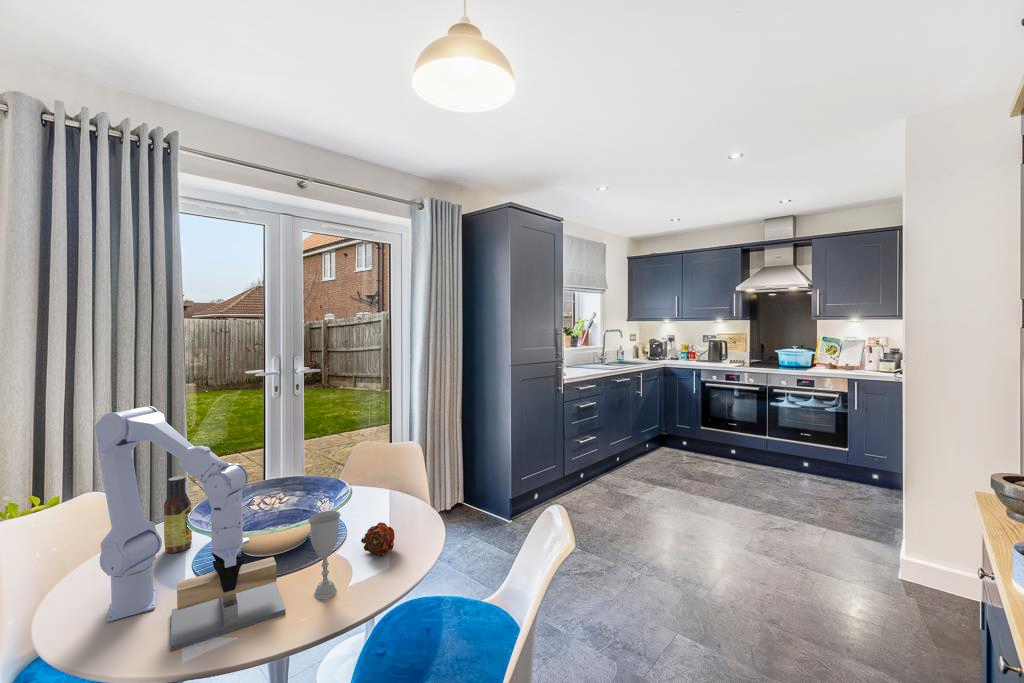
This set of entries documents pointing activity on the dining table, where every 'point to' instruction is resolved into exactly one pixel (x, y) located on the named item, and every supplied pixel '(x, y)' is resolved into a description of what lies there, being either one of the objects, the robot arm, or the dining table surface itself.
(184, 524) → the sauce bottle
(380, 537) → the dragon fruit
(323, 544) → the chalice
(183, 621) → the slate base plate
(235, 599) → the steel ridge
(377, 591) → the dining table surface
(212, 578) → the oak bar
